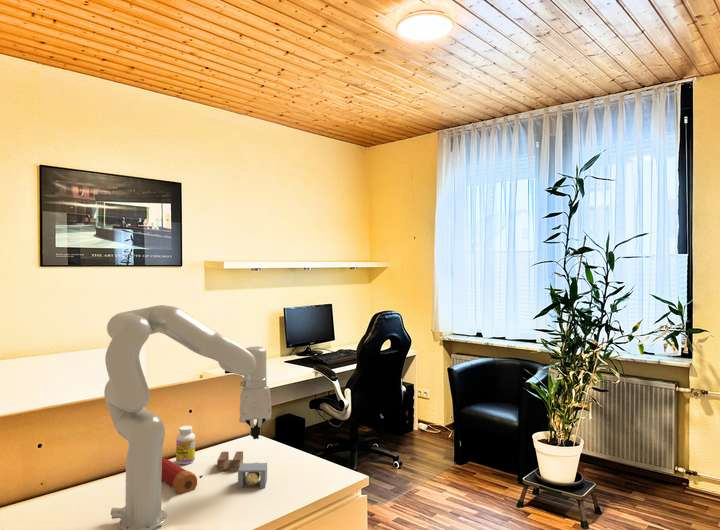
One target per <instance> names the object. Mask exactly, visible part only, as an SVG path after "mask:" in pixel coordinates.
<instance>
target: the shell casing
mask: <svg viewBox="0 0 720 530" xmlns="http://www.w3.org/2000/svg"><path fill="white" fill-rule="evenodd" d="M162 482H163V483H165V484H166V485H168V486H169V487H171V488H172V489H173V490H174V491H175V492H176V493H178V494H179V495H184V494H186V493H189V492H192V491H195V490H196V488H197V486H198V477H197V476H196V475H195V473H194V472H192V471H189V470H187V469H184V468H183V467H182V466H179V464H177V463H174V462H173V461H172V460H170V459H168V458H164V457H163V458H162Z"/></svg>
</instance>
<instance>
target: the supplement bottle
mask: <svg viewBox="0 0 720 530" xmlns="http://www.w3.org/2000/svg"><path fill="white" fill-rule="evenodd" d="M175 444H176V445H175V447H176V449H175V450H176V451H175V462H176V464H177V465H181V464H186V465H189V463H190V464H192V463H194V462H195V459H196V458H195V457H196V456H195V455H196V453H195V452H196V435H195V433H193V426H192V425H183V426H180V427H179V434H178V435H176V442H175Z"/></svg>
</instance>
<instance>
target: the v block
mask: <svg viewBox="0 0 720 530" xmlns="http://www.w3.org/2000/svg"><path fill="white" fill-rule="evenodd" d="M229 455H230V453H229V451H221V452H220V455H219V457H218V458H217V460H216V464H217V465H216V467H217V468H216V470H217V472H220V473H221V472H238V470H239V467H240V465H241V463H244V451H241V450H240V451H236V452H235V453H234V456H233V457H232V458H233V459H230V458H229ZM217 472H216V473H217Z"/></svg>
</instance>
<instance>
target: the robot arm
mask: <svg viewBox="0 0 720 530" xmlns="http://www.w3.org/2000/svg"><path fill="white" fill-rule="evenodd" d="M106 332H107V335H108V336H109V337H110V338H111V341H110V342H109V343H108V344H109V345H108V346H107V349H106V352H105V358H104V360H105V368H106V372H107V374H108V378H109V380H108V381H107V382H106V384H105V386H104V393H103V395H104V401H105V403H106V405H107V406H106V407H107V409H108V412H109V414H110V419H111V420H112V422H113V425H114V428H115V431H116V432H117V433H118V434H119V435H120V437H121V438H123V439H125V440H126V441H127V442H128V449H127V453H126V459H125V505H124V506H123V507H112V508H111V510H110V515H111V519H120V520H119V524H118V527H119V530H158V529H159V528H161V527H162V524H163V523H164V522H165V521H167V517H168V513H167V512H166V511H164V509H162V492H163V490H162V482H163V481H162V459H163V447H164V446H163V445H164V441H165V437H166V436H165V435H166V428H165V424H164V422H163V420H162V418H160V417H159V415H157V414H155V413H154V412H152V411H150V410H148V409H147V408H146V407H147V406H148V404H149V402H150V401H151V400H150V399H151V393H150V392H151V391H150V388H149V386H148V383H147V381H146V378H145V377H146V376H145V374H144V371H143V368H142V365H141V364H142V363H141V360H140V354H141V353H140V352H141V350H142V348H143V346H144V344H145V343H146V342H147V341H148V339H149V337H150V335H153V334H157V333H160V334H163V335H165V336H167V337H168V338H170V339H172V340H174V341H175V342H176V343H179V344H180V345H182V346H184V347H186V348H187V349H188V350H190V351H191V352H193V353H196V354H197V355H199V356H202V357H205V358H208V359H211V360H213V361H216V362H218V365H219V367H220V368H221V369H222V370H224V371H226V372H229V373H231V374H235V375H239V376H243V380H242V381H239V387H240V386H242V388H241V393H240V398H239V399H240V400H239V418H238V421H239V423H242V424H247V426H249V427H250V437H252V439H253V440H259V439H260V436H261V427H262V425H263V424H264V423H265V422H266V421H268V420H271V419H272V399H271V398H272V397H271V391H270V387H269V386H268V385H267V382H268V381H267V350H266V348H265V347H264V346H259V345H258V346H249V347H245V348H244V346H242V345H239V344H238V343H237V342H235V341H233V340H231V339H229V338H227V337H226V336H224V335H222V334H221V333H219V332H218V331H216V330H214V329H212V328H210V327H209V326H207V325H205V324H204V323H202V322H201V321H199V320H198V319H196V318H194V317H193V316H192V315H190V314H188V313H187V312H186V311H184V310H182V309H181V308H179V307H176V306H171V305H166V304H164V305H163V304H162V305H154V306H149V307H143V308H138V309H134V310H133V309H132V310H128V311H123V312H120V313H116V314H115V315H113V316H112V317H111V318H110V319H109V320H108V322H107V325H106ZM254 420H256V422H255V421H254Z"/></svg>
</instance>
